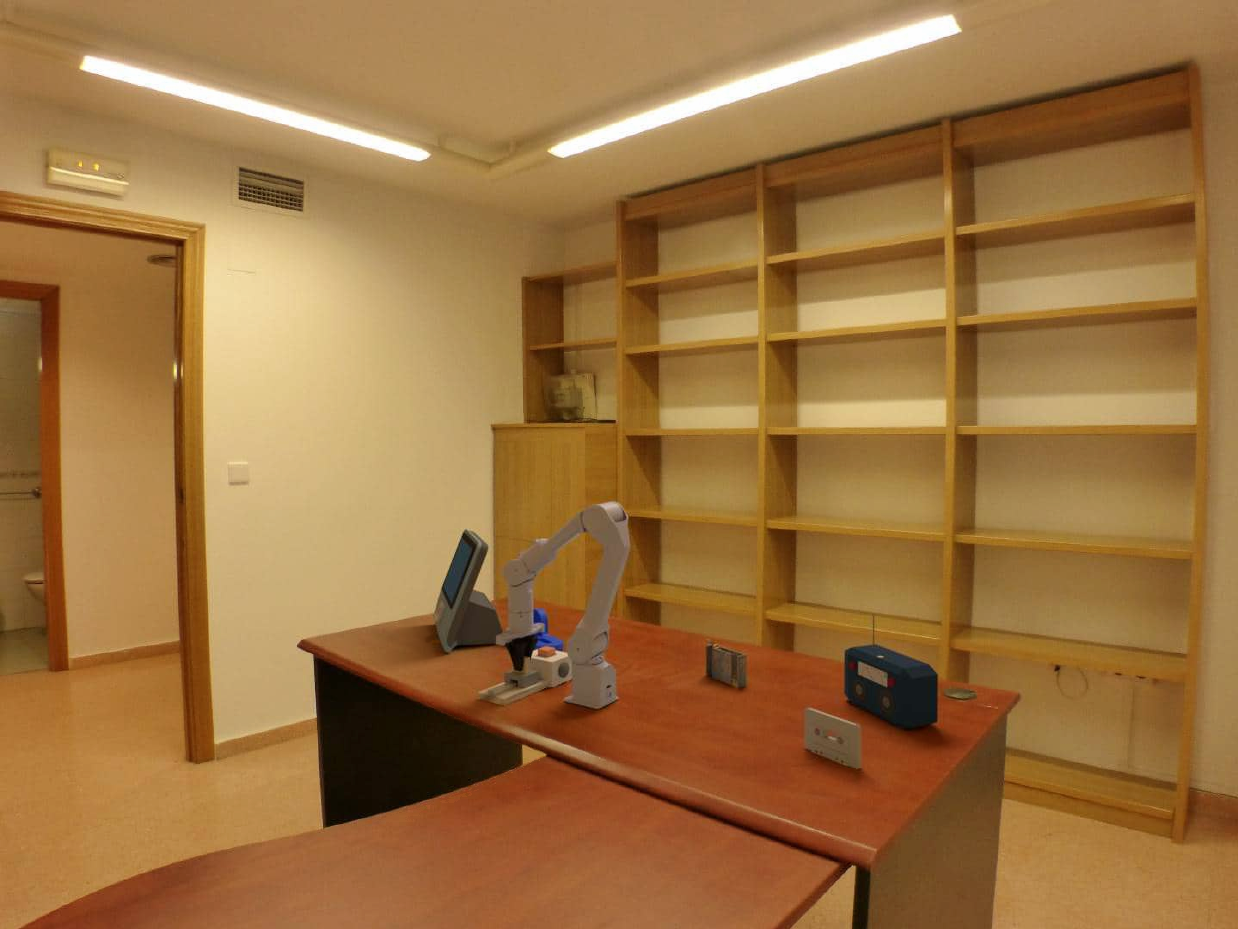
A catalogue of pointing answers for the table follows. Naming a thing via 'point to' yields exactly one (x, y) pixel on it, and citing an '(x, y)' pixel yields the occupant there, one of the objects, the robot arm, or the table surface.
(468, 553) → the touchscreen device
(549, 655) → the button
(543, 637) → the bracket
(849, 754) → the cassette
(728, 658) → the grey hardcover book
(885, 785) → the table surface
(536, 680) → the carriage
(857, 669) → the radio
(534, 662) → the cabinet
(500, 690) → the rail
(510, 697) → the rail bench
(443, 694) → the table surface
